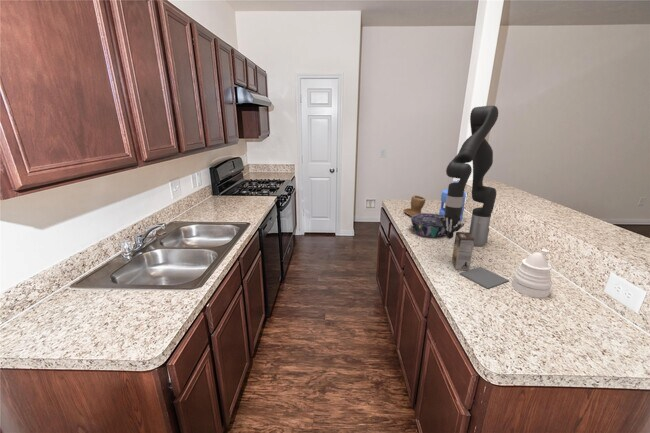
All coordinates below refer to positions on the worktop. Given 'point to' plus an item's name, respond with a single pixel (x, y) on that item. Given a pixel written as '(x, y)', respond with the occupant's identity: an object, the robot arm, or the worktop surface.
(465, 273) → the rubber mat
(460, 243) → the coffee box
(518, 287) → the honey pot
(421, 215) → the decorative bowl
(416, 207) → the brown boot
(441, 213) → the water jug
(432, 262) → the worktop surface
